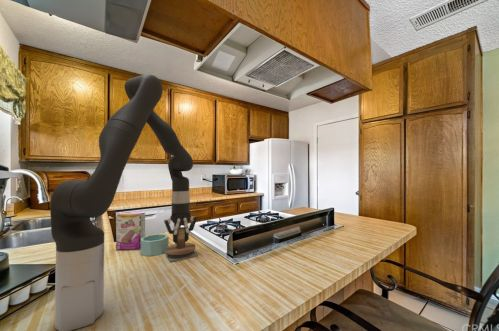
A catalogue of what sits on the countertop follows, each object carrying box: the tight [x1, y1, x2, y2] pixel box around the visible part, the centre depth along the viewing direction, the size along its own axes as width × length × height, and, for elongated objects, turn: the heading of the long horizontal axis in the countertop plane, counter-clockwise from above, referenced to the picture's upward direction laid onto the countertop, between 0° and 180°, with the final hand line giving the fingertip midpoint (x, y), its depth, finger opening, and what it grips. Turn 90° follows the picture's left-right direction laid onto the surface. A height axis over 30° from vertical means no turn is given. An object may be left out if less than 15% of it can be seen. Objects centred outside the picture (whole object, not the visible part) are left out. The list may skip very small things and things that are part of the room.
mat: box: [165, 250, 199, 263], centre depth 90 cm, size 11×11×1 cm
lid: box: [166, 226, 196, 255], centre depth 90 cm, size 12×12×9 cm
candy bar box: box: [115, 211, 146, 251], centre depth 99 cm, size 11×5×16 cm, turn 92°
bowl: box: [139, 233, 170, 257], centre depth 94 cm, size 11×11×6 cm
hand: (180, 241), depth 90 cm, fingers closed on lid, 3 cm apart
